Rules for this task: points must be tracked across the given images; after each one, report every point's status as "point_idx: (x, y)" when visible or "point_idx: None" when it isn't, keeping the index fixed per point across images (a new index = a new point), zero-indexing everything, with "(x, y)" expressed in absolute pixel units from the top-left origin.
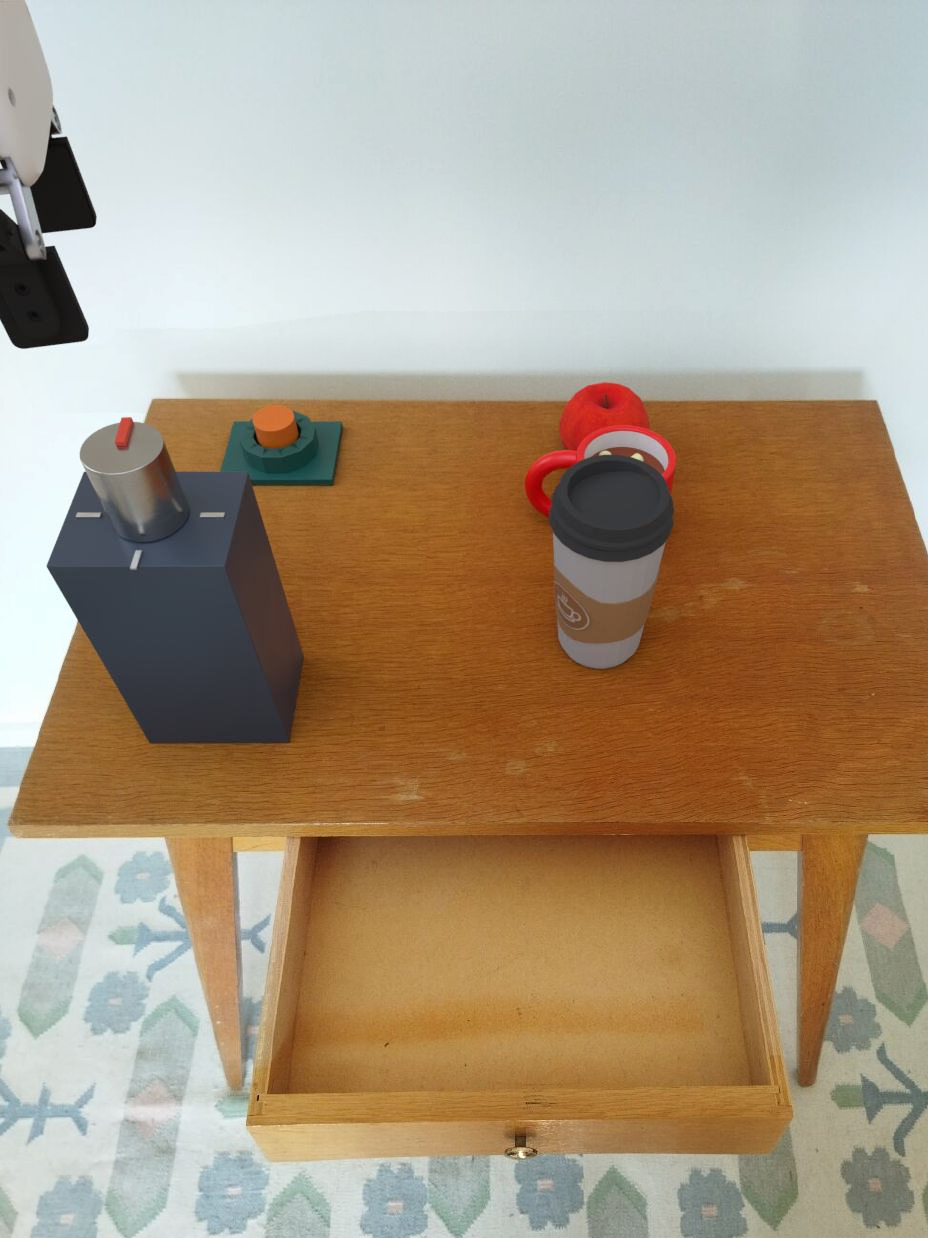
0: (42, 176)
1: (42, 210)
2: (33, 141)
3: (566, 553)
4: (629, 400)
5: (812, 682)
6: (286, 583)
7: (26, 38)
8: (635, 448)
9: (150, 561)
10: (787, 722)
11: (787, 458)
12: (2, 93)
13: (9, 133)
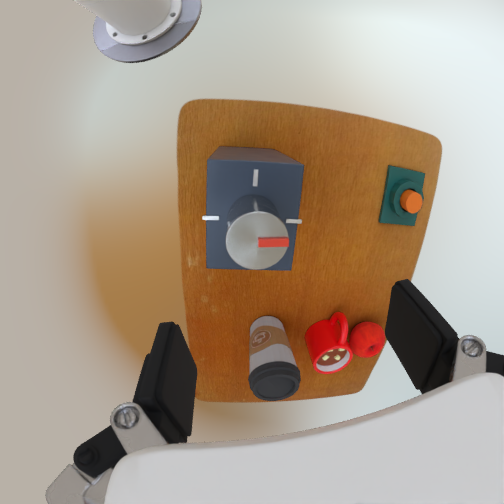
0: (414, 349)
1: (401, 313)
2: None
3: (260, 361)
4: (368, 356)
5: (241, 377)
6: (317, 201)
7: None
8: (343, 357)
9: (210, 225)
10: (225, 370)
11: (342, 377)
12: None
13: None
